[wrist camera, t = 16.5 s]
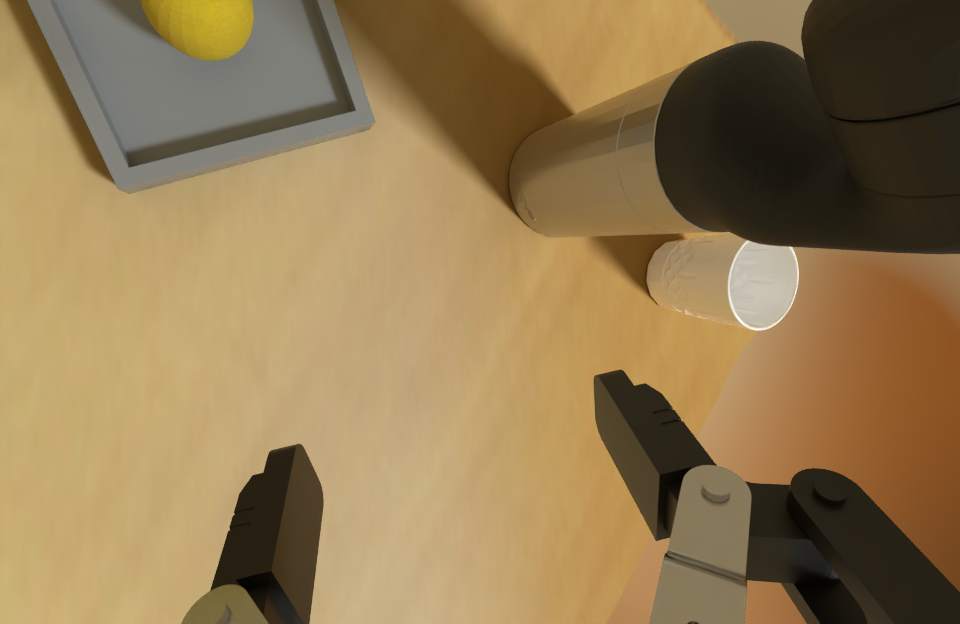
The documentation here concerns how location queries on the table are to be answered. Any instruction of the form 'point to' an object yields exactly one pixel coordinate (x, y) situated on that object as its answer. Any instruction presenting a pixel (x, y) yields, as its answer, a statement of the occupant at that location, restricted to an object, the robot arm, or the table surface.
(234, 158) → the tray
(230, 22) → the lemon
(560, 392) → the table surface
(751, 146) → the robot arm
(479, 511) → the table surface
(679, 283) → the white cup
